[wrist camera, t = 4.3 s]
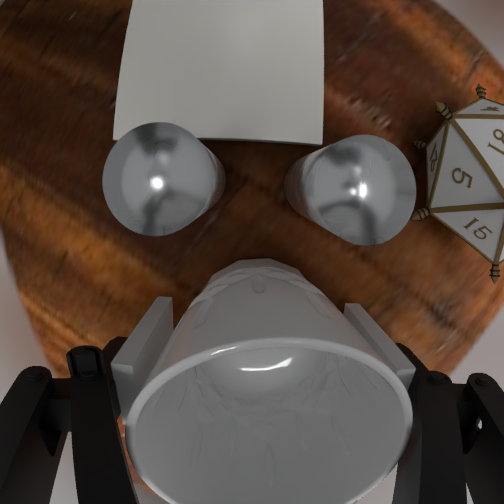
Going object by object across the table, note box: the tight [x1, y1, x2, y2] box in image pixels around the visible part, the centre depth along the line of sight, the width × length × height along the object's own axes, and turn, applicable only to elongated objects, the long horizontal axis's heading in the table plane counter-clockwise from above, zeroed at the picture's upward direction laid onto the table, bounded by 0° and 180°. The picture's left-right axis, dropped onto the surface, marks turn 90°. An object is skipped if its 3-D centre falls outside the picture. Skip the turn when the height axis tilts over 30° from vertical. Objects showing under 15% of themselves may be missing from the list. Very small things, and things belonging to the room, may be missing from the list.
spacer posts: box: [103, 122, 416, 504], centre depth 13 cm, size 17×10×7 cm, turn 177°
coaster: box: [113, 0, 324, 146], centre depth 14 cm, size 10×10×1 cm
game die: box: [412, 84, 504, 284], centre depth 12 cm, size 9×8×10 cm
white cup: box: [125, 258, 413, 504], centre depth 12 cm, size 8×8×10 cm
